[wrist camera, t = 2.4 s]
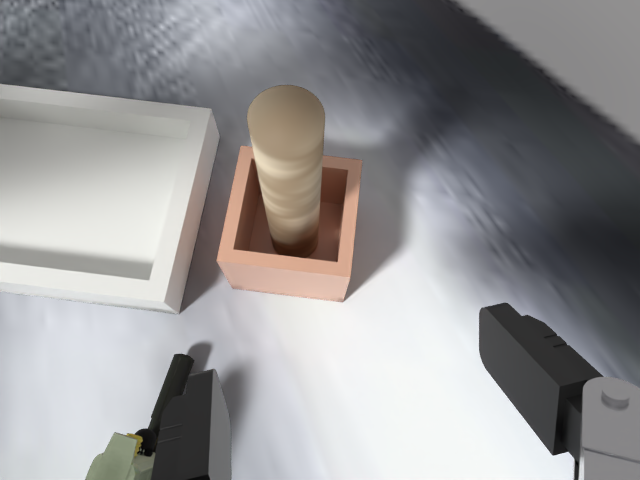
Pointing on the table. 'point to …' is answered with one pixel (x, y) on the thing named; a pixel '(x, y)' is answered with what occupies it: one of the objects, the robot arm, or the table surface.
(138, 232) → the tray
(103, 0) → the table surface
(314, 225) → the dowel pin
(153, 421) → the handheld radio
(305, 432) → the table surface
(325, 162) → the pot
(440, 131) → the table surface
